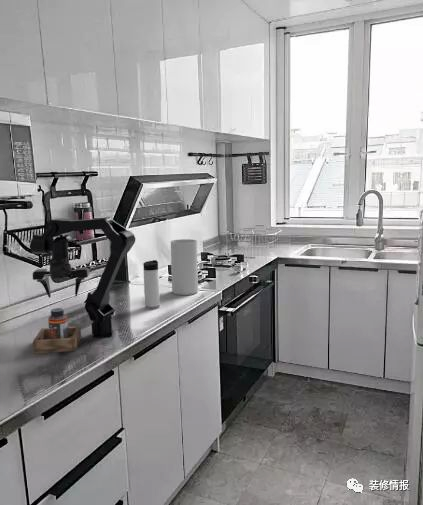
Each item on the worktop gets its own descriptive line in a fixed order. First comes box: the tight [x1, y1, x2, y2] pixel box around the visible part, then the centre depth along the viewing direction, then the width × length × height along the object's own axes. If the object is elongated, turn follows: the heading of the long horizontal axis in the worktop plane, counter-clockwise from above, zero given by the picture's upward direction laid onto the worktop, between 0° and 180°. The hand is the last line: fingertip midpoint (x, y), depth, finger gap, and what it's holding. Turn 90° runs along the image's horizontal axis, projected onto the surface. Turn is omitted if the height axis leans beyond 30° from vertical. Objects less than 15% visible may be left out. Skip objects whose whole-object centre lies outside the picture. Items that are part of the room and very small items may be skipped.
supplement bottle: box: [47, 307, 69, 339], centre depth 153 cm, size 6×6×11 cm
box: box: [32, 325, 82, 354], centre depth 154 cm, size 13×13×4 cm
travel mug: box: [142, 259, 161, 310], centre depth 197 cm, size 6×7×20 cm
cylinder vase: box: [170, 238, 199, 296], centre depth 221 cm, size 12×12×25 cm
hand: (63, 296), depth 166 cm, fingers open, 9 cm apart
